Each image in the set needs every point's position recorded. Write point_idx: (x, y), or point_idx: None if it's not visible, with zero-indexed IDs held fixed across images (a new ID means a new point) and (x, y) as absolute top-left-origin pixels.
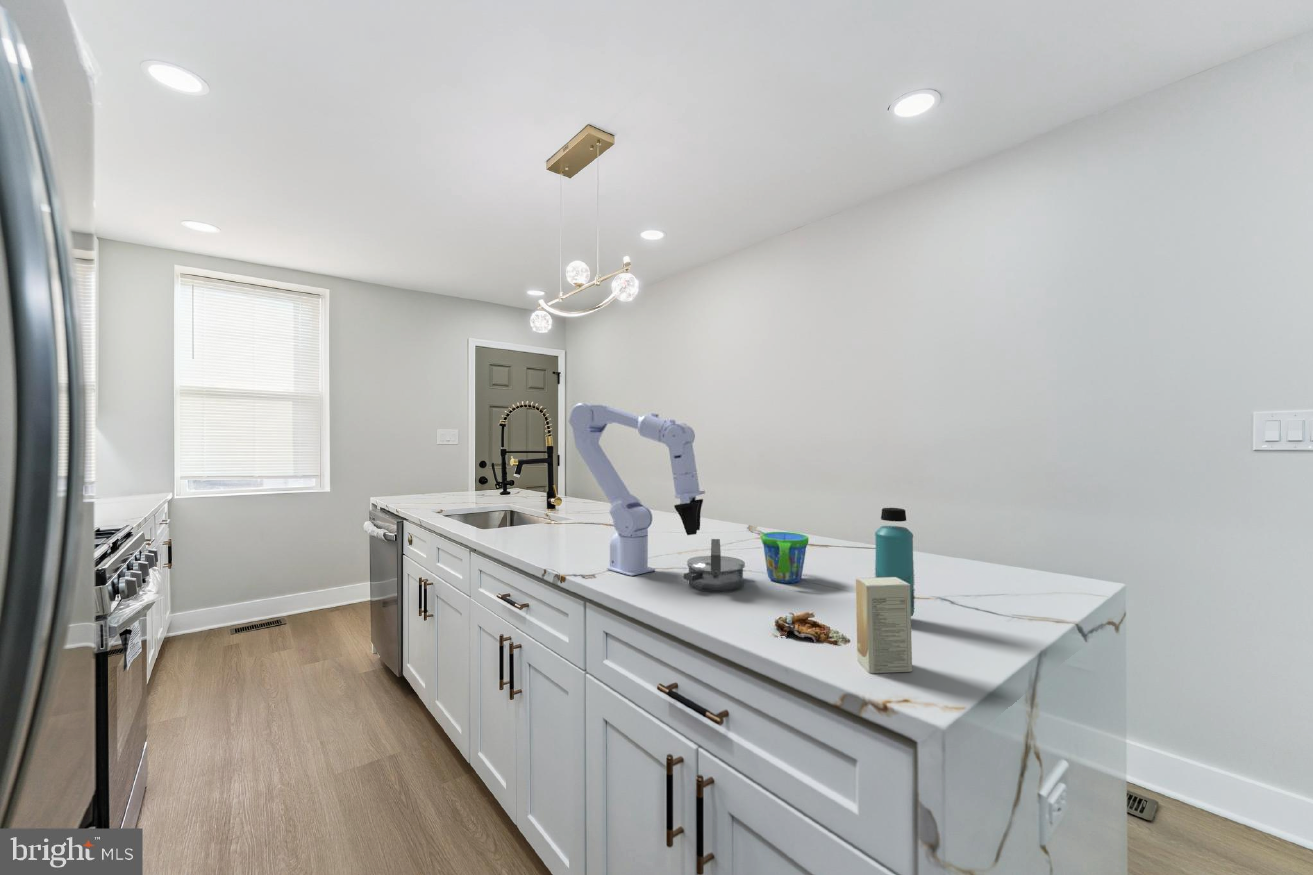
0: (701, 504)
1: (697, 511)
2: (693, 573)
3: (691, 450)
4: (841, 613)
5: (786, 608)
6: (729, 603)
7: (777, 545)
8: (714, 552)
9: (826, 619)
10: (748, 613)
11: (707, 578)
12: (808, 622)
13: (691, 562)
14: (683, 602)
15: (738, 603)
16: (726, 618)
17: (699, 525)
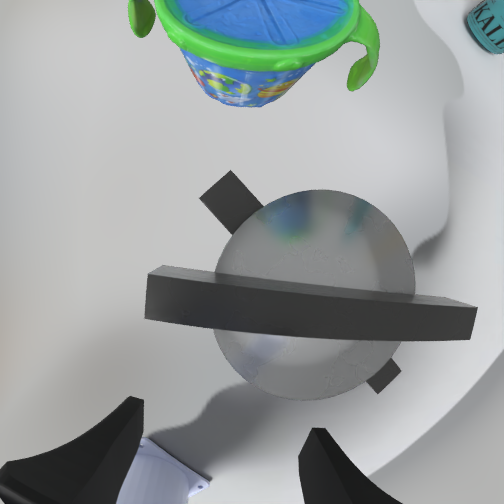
0: (80, 491)
1: (102, 474)
2: (381, 369)
3: None
4: (472, 81)
5: (467, 159)
6: (446, 270)
7: (344, 43)
8: (447, 328)
9: (497, 121)
10: (488, 242)
11: None
12: None
13: (328, 386)
14: (427, 366)
15: (447, 250)
16: (499, 286)
17: (136, 413)
